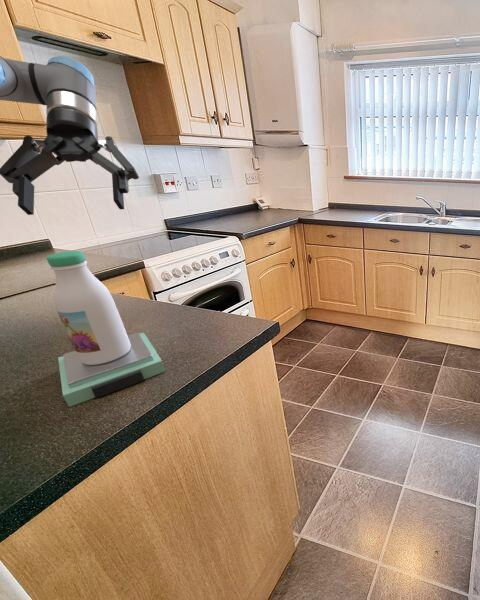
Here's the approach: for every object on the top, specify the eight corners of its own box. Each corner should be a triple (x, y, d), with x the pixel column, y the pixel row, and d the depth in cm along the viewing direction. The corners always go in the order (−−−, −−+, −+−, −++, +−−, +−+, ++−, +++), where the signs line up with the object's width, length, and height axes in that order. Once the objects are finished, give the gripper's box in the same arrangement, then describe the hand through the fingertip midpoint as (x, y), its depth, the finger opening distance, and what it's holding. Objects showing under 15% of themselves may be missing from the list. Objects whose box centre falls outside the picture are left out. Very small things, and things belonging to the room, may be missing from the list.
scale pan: (65, 358, 65) (63, 354, 65) (139, 336, 73) (138, 332, 73) (70, 388, 57) (67, 383, 56) (153, 359, 65) (152, 355, 64)
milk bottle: (123, 340, 69) (86, 245, 61) (138, 351, 65) (100, 252, 57) (75, 357, 64) (27, 255, 56) (88, 371, 60) (38, 263, 52)
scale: (63, 368, 67) (57, 357, 66) (147, 341, 76) (143, 332, 75) (69, 409, 56) (63, 397, 55) (166, 373, 65) (162, 362, 64)
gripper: (151, 138, 77) (159, 214, 71) (3, 137, 68) (-2, 225, 61) (138, 109, 71) (146, 190, 64) (-27, 103, 61) (-37, 198, 55)
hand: (74, 207), depth 63 cm, fingers open, 13 cm apart
